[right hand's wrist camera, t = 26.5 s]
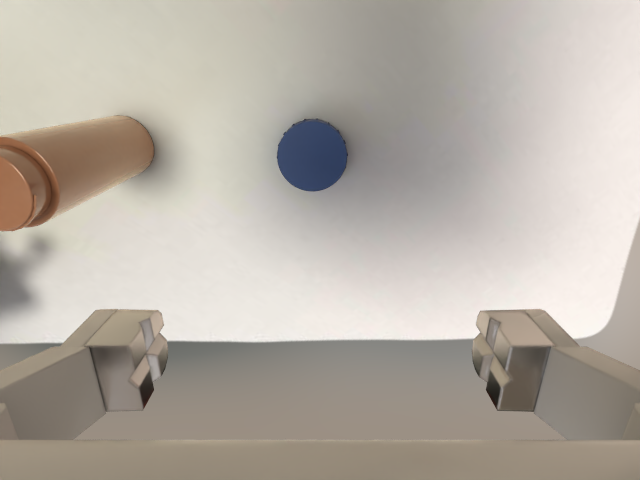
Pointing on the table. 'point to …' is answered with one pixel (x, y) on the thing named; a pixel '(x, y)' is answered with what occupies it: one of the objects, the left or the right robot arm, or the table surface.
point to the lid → (312, 155)
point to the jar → (67, 166)
